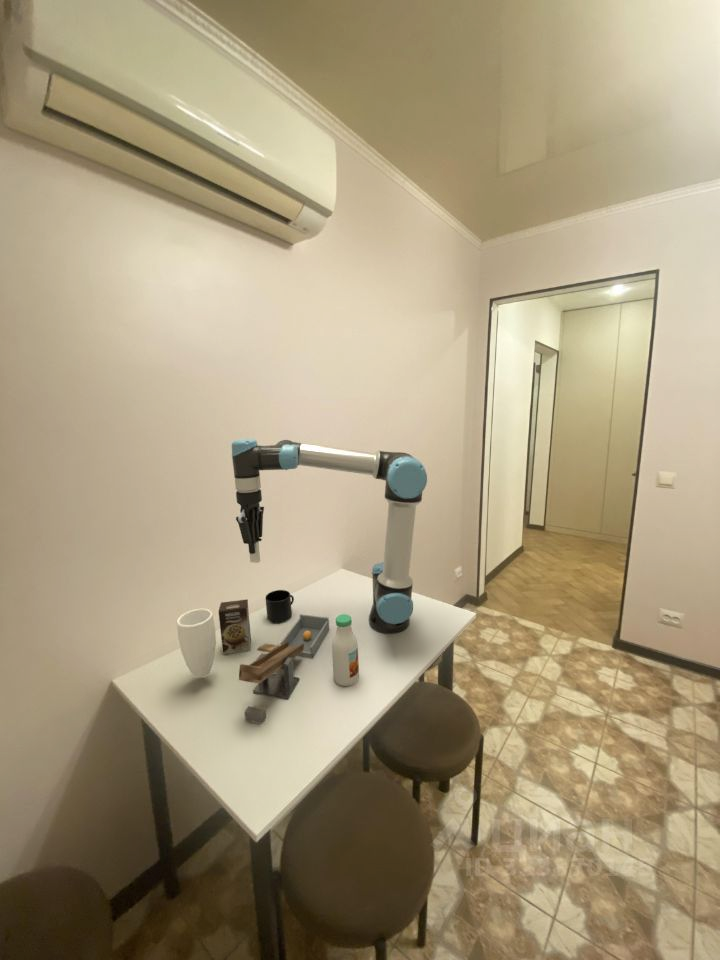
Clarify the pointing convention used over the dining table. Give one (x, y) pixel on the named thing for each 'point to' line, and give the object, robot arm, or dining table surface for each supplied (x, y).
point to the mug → (279, 606)
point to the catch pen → (317, 629)
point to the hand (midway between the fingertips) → (255, 561)
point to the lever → (268, 662)
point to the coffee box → (235, 626)
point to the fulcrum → (279, 682)
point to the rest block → (255, 714)
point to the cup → (197, 640)
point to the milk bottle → (345, 652)
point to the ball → (307, 635)
